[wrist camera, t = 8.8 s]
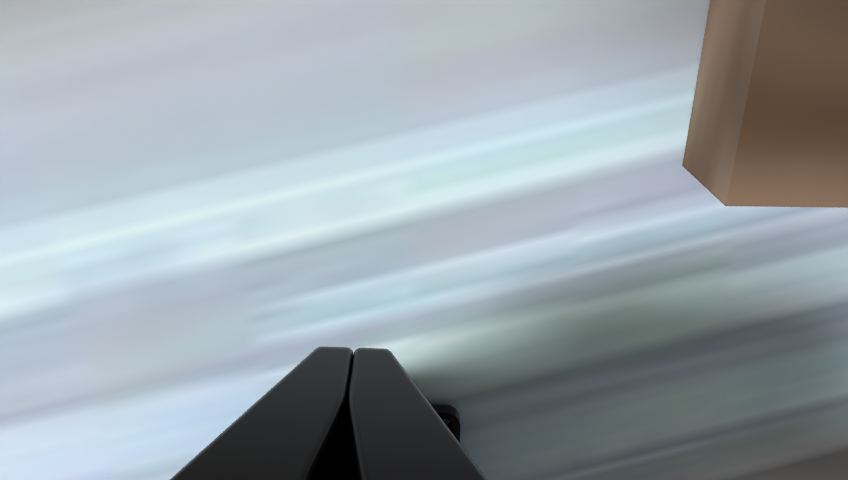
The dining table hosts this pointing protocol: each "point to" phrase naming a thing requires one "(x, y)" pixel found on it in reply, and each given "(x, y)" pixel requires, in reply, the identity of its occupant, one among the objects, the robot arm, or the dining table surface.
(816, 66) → the walnut deck
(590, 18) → the dining table surface
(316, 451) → the robot arm
